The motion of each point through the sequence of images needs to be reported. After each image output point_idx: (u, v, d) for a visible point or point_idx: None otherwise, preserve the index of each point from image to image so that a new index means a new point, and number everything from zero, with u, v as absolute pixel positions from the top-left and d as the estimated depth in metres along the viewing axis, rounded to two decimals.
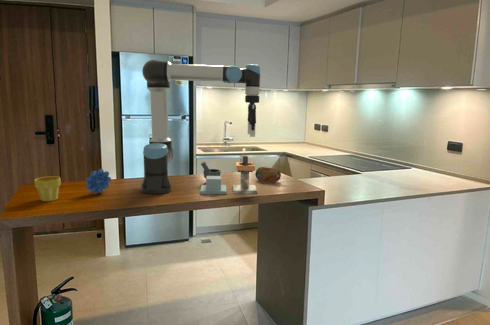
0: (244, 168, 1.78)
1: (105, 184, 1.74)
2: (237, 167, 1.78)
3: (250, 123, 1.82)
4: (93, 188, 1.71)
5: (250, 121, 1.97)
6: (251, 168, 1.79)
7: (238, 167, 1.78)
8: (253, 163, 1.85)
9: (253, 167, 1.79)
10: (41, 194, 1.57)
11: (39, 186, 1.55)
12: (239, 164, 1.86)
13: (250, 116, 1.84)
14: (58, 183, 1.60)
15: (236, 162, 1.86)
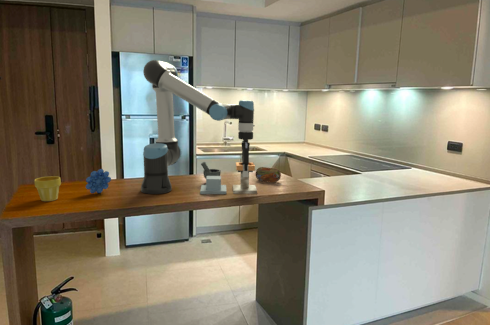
0: None
1: (105, 184, 1.74)
2: (237, 167, 1.78)
3: (243, 164, 1.76)
4: (93, 188, 1.71)
5: None
6: (251, 168, 1.79)
7: (238, 167, 1.78)
8: (253, 163, 1.85)
9: (253, 167, 1.79)
10: (41, 194, 1.57)
11: (39, 186, 1.55)
12: (239, 164, 1.86)
13: (243, 155, 1.77)
14: (58, 183, 1.60)
15: (236, 162, 1.86)
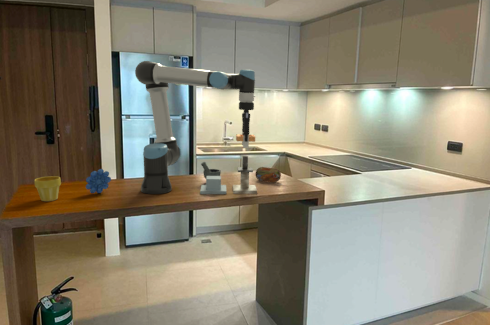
0: None
1: (105, 184, 1.74)
2: (237, 138, 1.76)
3: (243, 134, 1.74)
4: (93, 188, 1.71)
5: None
6: (251, 139, 1.76)
7: (238, 138, 1.76)
8: None
9: (254, 138, 1.76)
10: (41, 194, 1.57)
11: (39, 186, 1.55)
12: (239, 136, 1.83)
13: None
14: (58, 183, 1.60)
15: (236, 134, 1.84)
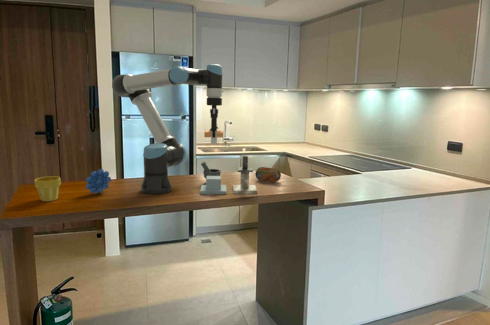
0: None
1: (105, 184, 1.74)
2: (205, 134, 1.73)
3: (210, 130, 1.71)
4: (93, 188, 1.71)
5: None
6: (219, 135, 1.74)
7: (206, 134, 1.73)
8: None
9: (221, 134, 1.74)
10: (41, 194, 1.57)
11: (39, 186, 1.55)
12: (208, 132, 1.81)
13: None
14: (58, 183, 1.60)
15: (205, 130, 1.82)
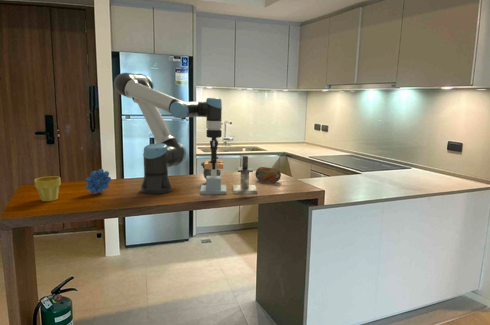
0: None
1: (105, 184, 1.74)
2: (205, 165, 1.76)
3: (210, 162, 1.74)
4: (93, 188, 1.71)
5: None
6: (219, 166, 1.76)
7: (206, 165, 1.76)
8: (222, 161, 1.83)
9: (221, 165, 1.76)
10: (41, 194, 1.57)
11: (39, 186, 1.55)
12: (208, 162, 1.83)
13: None
14: (58, 183, 1.60)
15: None
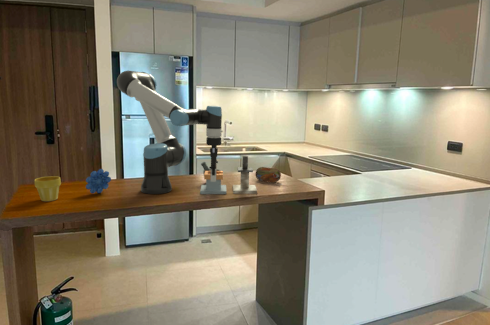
0: None
1: (105, 184, 1.74)
2: (205, 176, 1.77)
3: (210, 168, 1.73)
4: (93, 188, 1.71)
5: None
6: (219, 177, 1.77)
7: (206, 176, 1.77)
8: (222, 172, 1.84)
9: (221, 176, 1.77)
10: (41, 194, 1.57)
11: (39, 186, 1.55)
12: (208, 173, 1.84)
13: None
14: (58, 183, 1.60)
15: (205, 171, 1.85)
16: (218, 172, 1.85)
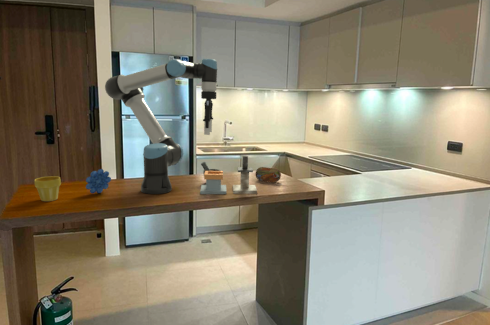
0: (212, 177, 1.77)
1: (105, 184, 1.74)
2: (205, 176, 1.77)
3: (204, 120, 1.73)
4: (93, 188, 1.71)
5: (209, 118, 1.88)
6: (219, 177, 1.77)
7: (206, 176, 1.77)
8: (222, 172, 1.84)
9: (221, 176, 1.77)
10: (41, 194, 1.57)
11: (39, 186, 1.55)
12: (208, 173, 1.84)
13: None
14: (58, 183, 1.60)
15: (205, 171, 1.85)
16: (218, 172, 1.85)
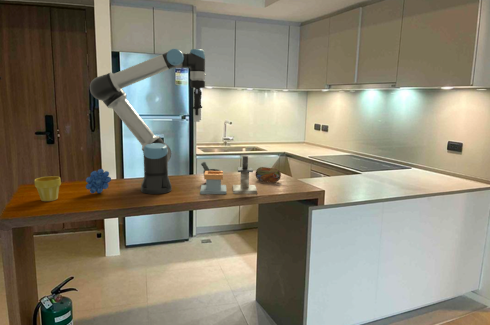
0: (212, 177, 1.77)
1: (105, 184, 1.74)
2: (205, 176, 1.77)
3: (193, 108, 1.81)
4: (93, 188, 1.71)
5: (198, 107, 1.96)
6: (219, 177, 1.77)
7: (206, 176, 1.77)
8: (222, 172, 1.84)
9: (221, 176, 1.77)
10: (41, 194, 1.57)
11: (39, 186, 1.55)
12: (208, 173, 1.84)
13: None
14: (58, 183, 1.60)
15: (205, 171, 1.85)
16: (218, 172, 1.85)
